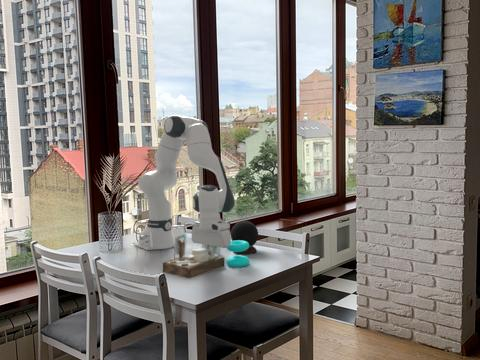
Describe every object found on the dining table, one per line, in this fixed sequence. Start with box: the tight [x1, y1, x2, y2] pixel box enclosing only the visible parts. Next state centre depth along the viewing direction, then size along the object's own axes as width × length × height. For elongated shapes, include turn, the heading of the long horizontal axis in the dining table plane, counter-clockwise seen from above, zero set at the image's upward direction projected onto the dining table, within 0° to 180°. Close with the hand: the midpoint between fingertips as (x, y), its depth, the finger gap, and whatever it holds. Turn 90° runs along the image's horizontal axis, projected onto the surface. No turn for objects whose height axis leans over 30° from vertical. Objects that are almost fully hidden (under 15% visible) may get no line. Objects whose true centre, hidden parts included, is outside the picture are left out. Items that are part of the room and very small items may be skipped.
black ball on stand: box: [230, 220, 259, 256], centre depth 240 cm, size 13×13×15 cm
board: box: [161, 255, 226, 279], centre depth 214 cm, size 16×21×4 cm
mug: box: [201, 244, 221, 256], centre depth 233 cm, size 12×8×10 cm
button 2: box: [194, 253, 209, 263], centre depth 212 cm, size 4×4×4 cm
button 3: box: [191, 247, 207, 255], centre depth 221 cm, size 4×4×4 cm
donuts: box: [226, 240, 250, 268], centre depth 218 cm, size 10×10×10 cm
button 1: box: [182, 253, 194, 260], centre depth 217 cm, size 4×4×4 cm
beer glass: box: [172, 224, 188, 259], centre depth 231 cm, size 7×7×15 cm
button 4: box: [208, 254, 218, 259], centre depth 217 cm, size 4×4×4 cm
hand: (211, 255), depth 217 cm, fingers closed, pressing on button 4
